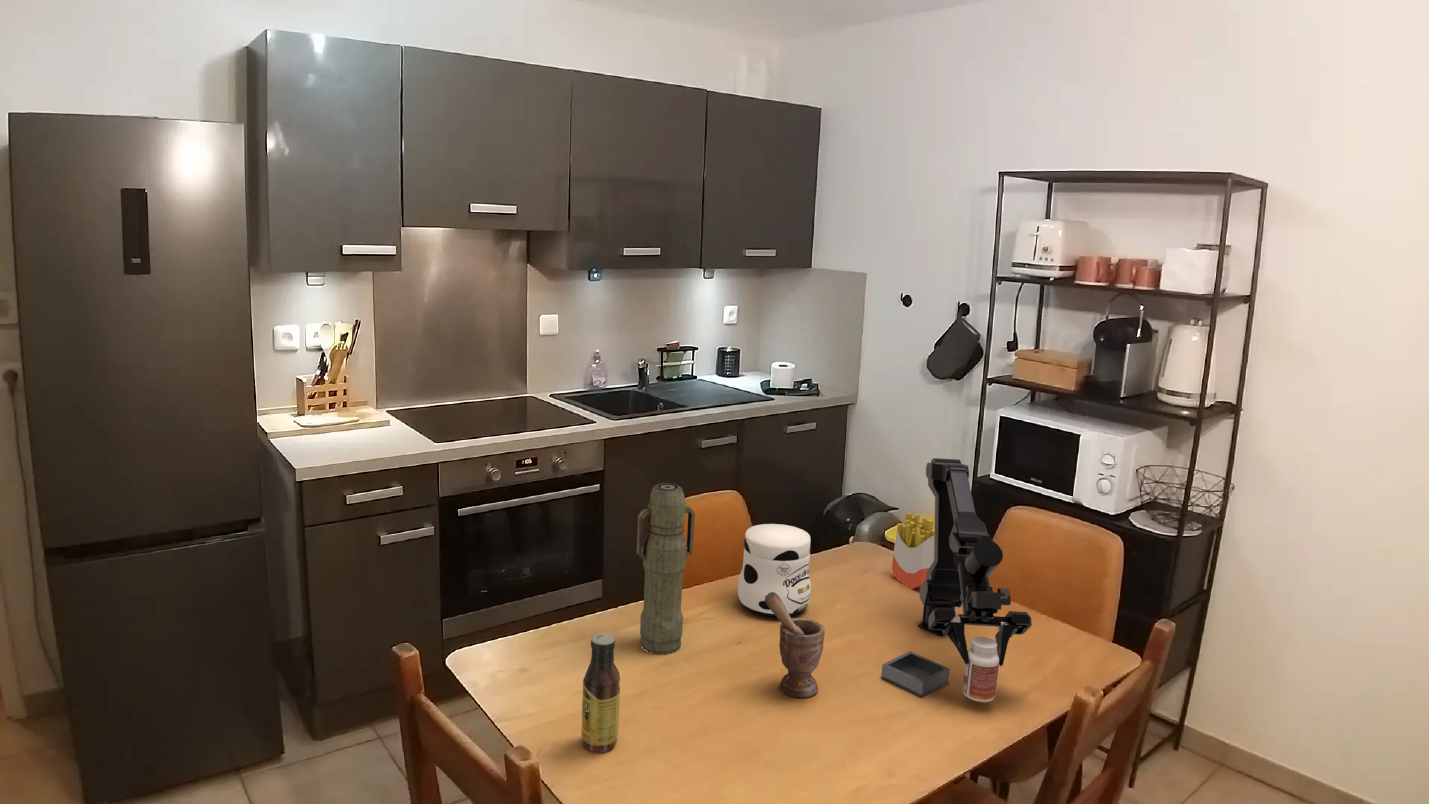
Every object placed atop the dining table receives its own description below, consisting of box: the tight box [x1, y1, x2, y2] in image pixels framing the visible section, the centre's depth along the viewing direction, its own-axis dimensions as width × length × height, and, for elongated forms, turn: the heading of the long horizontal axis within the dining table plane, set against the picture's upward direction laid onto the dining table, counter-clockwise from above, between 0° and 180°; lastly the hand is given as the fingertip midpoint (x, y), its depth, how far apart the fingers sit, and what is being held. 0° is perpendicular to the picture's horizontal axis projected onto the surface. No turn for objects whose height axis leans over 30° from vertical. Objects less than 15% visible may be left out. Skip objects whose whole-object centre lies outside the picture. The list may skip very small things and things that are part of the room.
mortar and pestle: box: [765, 592, 826, 698], centre depth 174 cm, size 12×9×20 cm
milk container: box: [737, 523, 812, 617], centre depth 212 cm, size 17×17×18 cm
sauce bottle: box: [581, 632, 621, 753], centre depth 152 cm, size 7×6×20 cm
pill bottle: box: [961, 636, 1000, 703], centre depth 173 cm, size 6×6×11 cm
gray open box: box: [880, 650, 951, 698], centre depth 182 cm, size 10×10×3 cm
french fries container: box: [891, 512, 935, 590], centre depth 231 cm, size 5×11×18 cm, turn 29°
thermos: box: [635, 482, 696, 655], centre depth 188 cm, size 9×12×35 cm
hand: (984, 664), depth 172 cm, fingers closed on pill bottle, 6 cm apart
